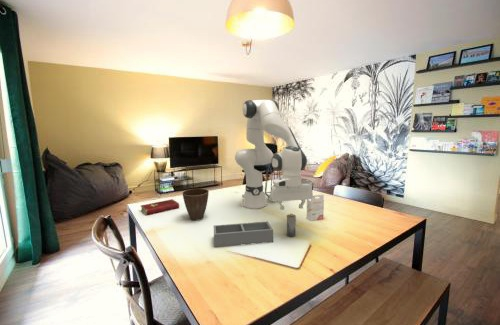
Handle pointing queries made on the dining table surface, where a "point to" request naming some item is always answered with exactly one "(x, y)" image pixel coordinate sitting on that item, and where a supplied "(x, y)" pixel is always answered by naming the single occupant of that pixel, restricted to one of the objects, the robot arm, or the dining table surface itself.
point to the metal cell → (291, 225)
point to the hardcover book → (159, 207)
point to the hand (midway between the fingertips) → (291, 208)
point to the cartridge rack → (242, 234)
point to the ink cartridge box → (315, 208)
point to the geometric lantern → (271, 179)
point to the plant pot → (196, 202)
